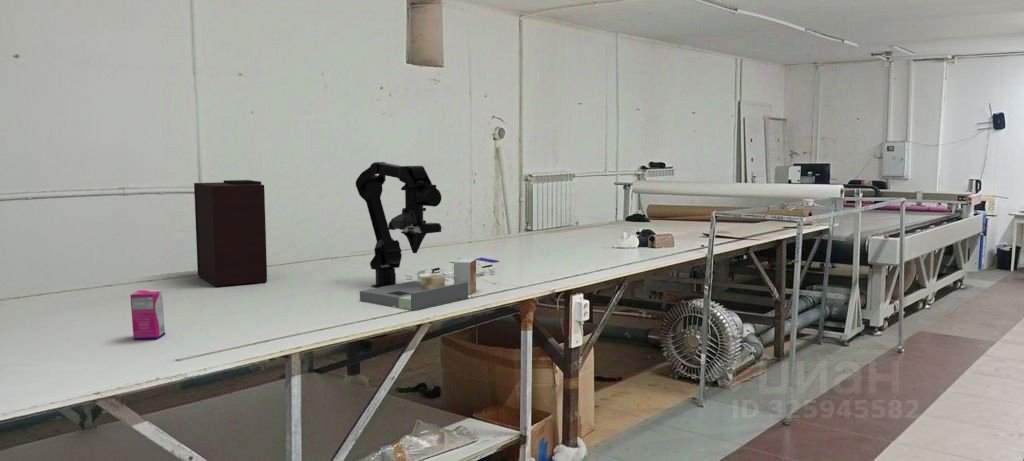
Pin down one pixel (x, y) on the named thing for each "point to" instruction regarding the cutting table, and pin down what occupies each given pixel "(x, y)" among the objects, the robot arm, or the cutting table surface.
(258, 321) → the cutting table surface
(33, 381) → the cutting table surface
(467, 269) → the small box
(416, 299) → the board
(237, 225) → the tall dark brown box
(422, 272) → the miniature set
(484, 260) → the booklet
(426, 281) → the maple block
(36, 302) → the cutting table surface
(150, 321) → the supplement box
